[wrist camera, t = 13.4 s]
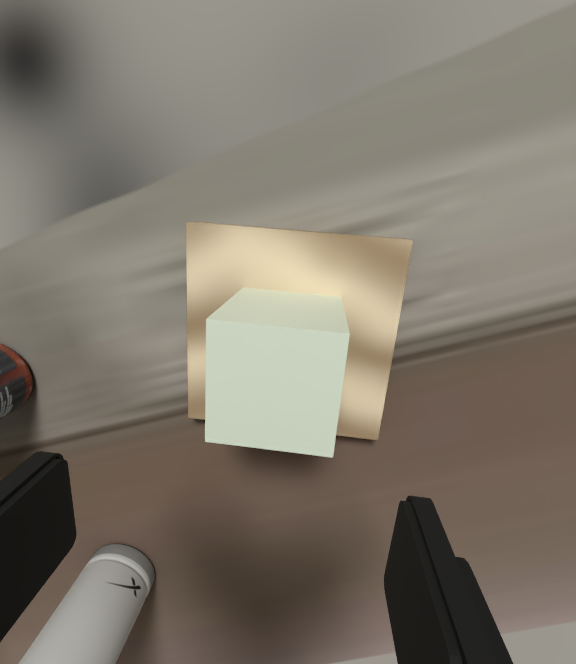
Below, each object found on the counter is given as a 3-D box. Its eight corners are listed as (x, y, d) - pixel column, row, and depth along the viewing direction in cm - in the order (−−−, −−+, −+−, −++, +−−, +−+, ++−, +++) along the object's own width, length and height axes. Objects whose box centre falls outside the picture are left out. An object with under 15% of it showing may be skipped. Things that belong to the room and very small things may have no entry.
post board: (374, 428, 27) (392, 502, 20) (195, 407, 28) (151, 471, 21) (407, 239, 23) (444, 248, 16) (194, 221, 24) (139, 222, 17)
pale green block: (330, 386, 25) (332, 457, 18) (239, 376, 25) (205, 441, 18) (341, 296, 23) (350, 333, 16) (243, 287, 23) (206, 319, 16)
